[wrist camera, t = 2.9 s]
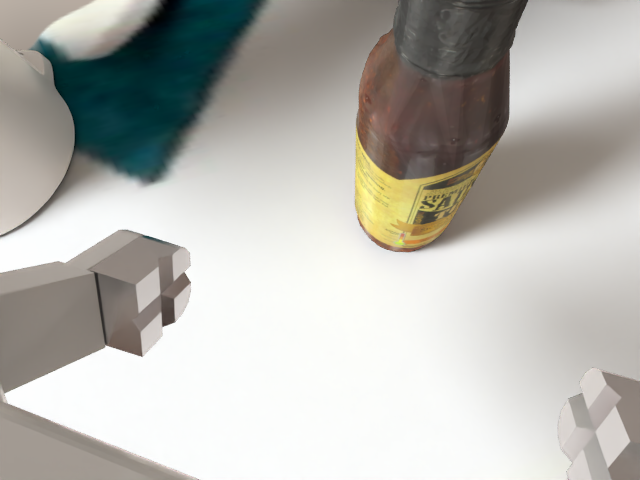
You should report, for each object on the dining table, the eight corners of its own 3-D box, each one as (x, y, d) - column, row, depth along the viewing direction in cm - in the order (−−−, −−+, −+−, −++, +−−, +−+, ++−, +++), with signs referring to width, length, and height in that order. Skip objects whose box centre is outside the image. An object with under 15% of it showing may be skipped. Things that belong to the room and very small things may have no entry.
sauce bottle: (414, 274, 27) (531, 65, 8) (337, 221, 29) (290, -56, 10) (469, 198, 28) (680, -138, 10) (392, 151, 30) (444, -218, 11)
